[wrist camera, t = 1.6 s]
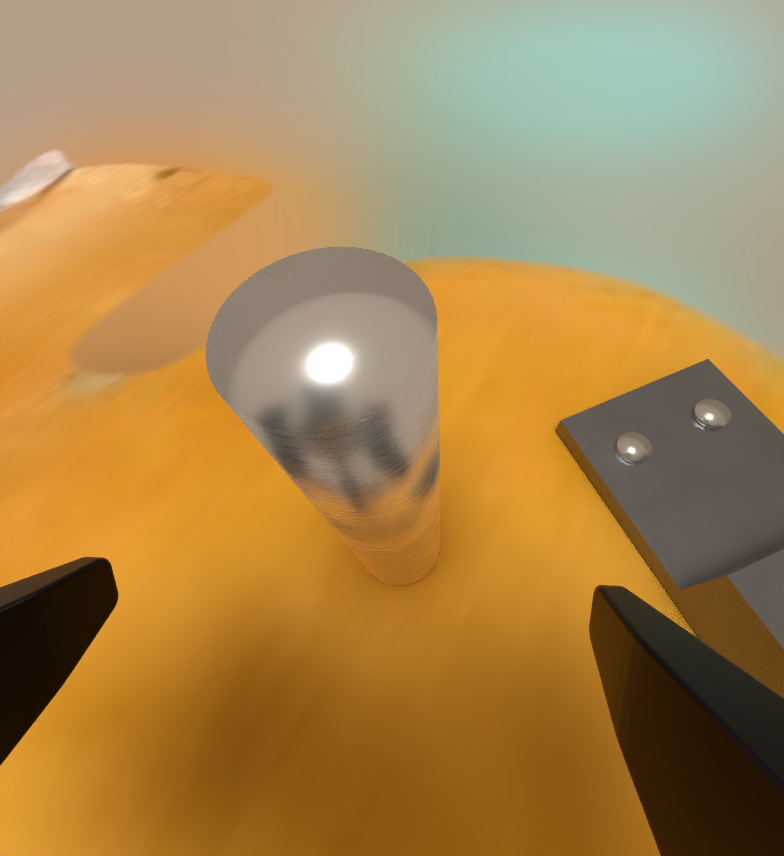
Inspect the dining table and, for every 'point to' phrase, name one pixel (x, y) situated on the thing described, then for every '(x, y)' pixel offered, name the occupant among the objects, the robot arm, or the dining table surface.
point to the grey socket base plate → (698, 504)
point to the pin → (343, 395)
